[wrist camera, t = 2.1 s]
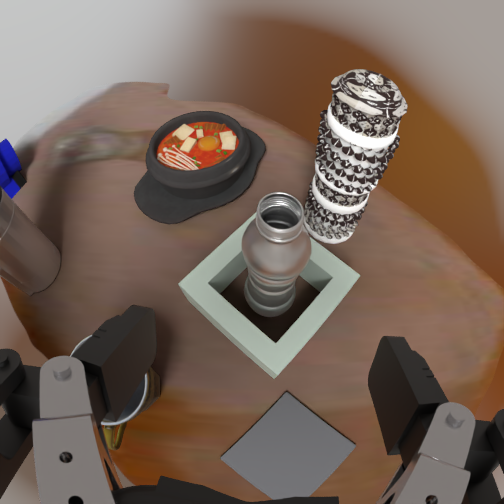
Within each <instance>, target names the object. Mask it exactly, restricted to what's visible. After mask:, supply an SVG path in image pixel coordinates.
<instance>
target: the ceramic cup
mask: <svg viewBox="0 0 504 504" xmlns="http://www.w3.org/2000/svg"><path fill="white" fill-rule="evenodd" d="M90 336H91V337H92V335H90ZM90 336H88V337H86V338H85V339H83V340H82V341H81V342H80V343H79V344H78V345H77V346H76V347H75V348H74V350H73V351H72V353H71V355H72V354H73V353H74V352H75V351H76V350H77V349H78V348H79V347H80V346H81V345H82V344H83V343H84V342H85V341H86V340H87V339H88V338H89V337H90ZM71 355H70V356H71ZM159 397H160V378H159V375H158V374H157V373H156V372H155V371H154V370H153V369H152V368H151V366H150V368H149V370H148V371H147V373H146V374H145V376H144V378H143V379H142V381H141V382H140V384H139V386H138V387H137V389H136V391H135V392H134V394H133V396H132V397H131V399H130V400H129V402H128V404H127V405H126V407H125V409H124V410H123V412H122V414H121V415H120V417H119V419H118V420H117V422H113V421H110V420H107V419H105V418H104V419H103V421H102V422H101V424H102V425H105V427H104V433H105V437H106V441H107V444H108V448H110V449H112V450H117V449H119V447H120V445H121V442H122V437H123V433H124V430H125V428H126V425H127V422H128V421H130V420H132V419H133V418H135V417H136V416H137V415H139V414H140V413H141V412H142V411H144V410H146V409H148V408H149V407H150V406H151V405H152V404H153V403H154V402H155V401H156V400H157V399H158V398H159ZM119 424H121V426H120V428H119V431H118V435H117V439H116V442H115V445H114V435H115V428H116V426H117V425H119Z"/></svg>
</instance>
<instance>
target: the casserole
mask: <svg viewBox="0 0 504 504" xmlns="http://www.w3.org/2000/svg"><path fill="white" fill-rule="evenodd" d="M264 152H265V144H264V142H263V140H262V139H261V138H260V137H259V136H258V135H257V134H255V133H254V132H252V131H251V130H249V129H246V128H244V127H241V125H240V124H239V123H238V122H237V121H236V120H235V119H233V118H232V117H230V116H228V115H225V114H223V113H218V112H212V111H198V112H191V113H187V114H184V115H181V116H178V117H176V118H173V119H172V120H170V121H168V122H166V123H165V124H164V125H163V126H161V127H160V128H159V129H158V130H157V131H156V132H155V134H154V135H153V137H152V138H151V141H150V144H149V148H148V150H147V153H146V166H147V169H148V170H147V172H146V173H145V175H144V176H143V177H142V179H141V180H140V181H139V183H138V184H137V185H136V187H135V191H134V197H135V201H136V203H137V205H138V207H139V208H140V210H141V211H142V212H143V213H144V214H145V215H147V216H148V217H150V218H151V219H153V220H155V221H158V222H160V223H166V224H174V223H180V222H182V221H184V220H186V219H188V218H190V217H192V216H194V215H196V214H198V213H200V212H203V211H207V210H210V209H213V208H216V207H219V206H223V205H225V204H227V203H229V202H231V201H233V200H234V199H235V198H237V197H238V196H240V195H241V194H242V193H243V192H244V191H245V190H246V189H247V188H248V187H249V185H250V183H251V182H252V180H253V179H254V175H255V172H256V168H257V165H258V162H259V161H260V159H261V157H262V156H263V154H264Z"/></svg>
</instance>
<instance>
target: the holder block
mask: <svg viewBox="0 0 504 504" xmlns="http://www.w3.org/2000/svg"><path fill="white" fill-rule="evenodd" d="M256 214H257V212H256V213H255V214H254V215H253V216H251V217H250V218H249V219H248V220H247V221H246V222H245V223H244V224H243V225H241V226H240V227H239V228H238V229H237V230H236V231H235V232H234V233H233V234H232V235H230V236H229V237H228V238H227V239H226V240H225V241H224V242H223V243H222V244H221V245H220V246H218V247H217V248H216V249H215V250H214V251H213V252H212V253H211V254H210V255H209V256H208V257H206V258H205V259H204V260H203V261H202V262H201V263H200V264H199V265H198V266H197V267H196V268H195V269H194V270H192V271H191V272H190V273H189V274H188V275H187V276H186V277H185V278H184V279H183V280H182V281H181V282H180V283H179V284H178V285H179V286H180V288H181V290H182V291H183V293H184V295H185V296H186V298H187V299H188V301H189V302H190V303H191V304H192V305H193V306H194V307H195V308H196V309H197V310H198V311H199V312H201V313H202V314H203V315H204V316H205V317H206V318H207V319H208V320H209V321H210V322H211V323H212V324H213V325H214V326H215V327H216V328H217V329H218V330H220V331H221V332H222V333H223V334H224V335H225V336H226V337H227V338H228V339H229V340H230V341H231V342H233V343H234V344H235V345H236V346H237V347H238V348H239V349H240V350H241V351H242V352H244V353H245V354H246V355H247V356H248V357H249V358H250V359H251V360H253V361H254V362H255V363H256V364H257V365H258V366H259V367H261V368H262V369H263V370H264V371H265V372H266V373H268V374H269V375H270V376H271V377H272V378H273V379H275V378H276V377H277V376H278V375H279V373H280V372H281V371H282V370H283V369H284V368H285V367H286V366H287V365H288V363H289V362H290V361H291V360H292V359H293V358H294V357H295V356H296V354H297V353H298V352H299V351H300V350H301V349H302V348H303V346H304V345H305V344H306V343H307V342H308V341H309V339H310V338H311V337H312V336H313V335H314V333H315V332H316V331H317V330H318V329H319V327H320V326H321V325H322V324H323V323H324V321H325V320H326V319H327V318H328V317H329V315H330V314H331V313H332V312H333V310H334V309H335V308H336V307H337V305H338V304H339V303H340V301H341V300H342V299H343V298H344V296H345V295H346V294H347V293H348V291H349V290H350V289H351V287H352V286H353V285H354V283H355V282H356V281H357V279H358V278H359V277H360V275H359V274H358V273H356V272H355V271H354V270H353V269H351V268H350V267H349V266H347V265H346V264H345V263H344V262H342V261H341V260H340V259H338V258H337V257H336V256H335V255H333V254H332V253H331V252H329V251H328V250H327V249H325V248H324V247H323V246H321V245H320V244H319V243H317V242H316V241H315V240H314V239H312V238H311V237H310V241H311V246H312V251H311V256H310V260H309V261H308V263H307V265H306V267H305V269H304V270H303V271H302V272H301V273H300V275H299V276H301V277H302V278H303V279H304V280H306V281H307V282H308V283H309V284H311V285H312V286H313V287H314V288H316V289H317V290H318V291H319V292H321V293H320V294H319V295H318V296H317V297H316V298H315V300H314V301H313V302H312V303H311V304H310V306H309V307H308V308H307V309H306V310H305V311H304V312H303V314H302V315H301V316H300V317H299V318H298V319H297V320H296V322H295V323H294V324H293V325H292V326H291V327H290V328H289V329H288V331H287V332H286V333H285V334H284V335H283V336H282V337H281V338H280V339H279V341H278V342H277V343H274V342H273V341H272V340H271V339H270V338H269V337H267V336H266V335H265V334H264V333H263V332H262V331H260V330H259V329H258V328H257V327H256V326H255V325H254V324H252V323H251V322H250V321H249V320H248V319H247V318H246V317H244V316H243V315H242V314H241V313H240V312H239V311H238V310H237V309H235V308H234V307H233V306H232V305H231V304H230V303H229V302H228V301H227V300H225V299H224V298H223V297H222V296H221V295H220V293H221V292H222V291H223V290H224V289H225V288H226V287H227V286H228V285H229V284H230V283H231V282H232V281H233V280H234V279H235V278H236V277H237V276H238V275H239V274H241V273H242V272H243V271H244V270H245V269H246V268H247V265H246V262H245V260H244V256H243V252H242V244H241V243H242V237H243V234H244V232H245V230H246V228H247V227H248V225H249V224H250V222H251V221H252V220H253V219H255V218H256Z"/></svg>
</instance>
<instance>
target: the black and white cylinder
mask: <svg viewBox="0 0 504 504" xmlns="http://www.w3.org/2000/svg"><path fill="white" fill-rule="evenodd" d="M331 86H332V89H333V92H334V93H333V96H332V102H331V104H330V105H329V107H328V110H324V111H322V112H321V114H320V116H321V118H323V119H321V121H320V125H321V126H320V127H319V132H320V133H321V134H320V135H318V138H317V139H318V141H319V143H318V144H317V149H316V154H317V156H316V159H315V171H316V174H315V175H314V178H313V181H312V182H311V183H310V189H309V191H308V194H309V196H308V197H307V198H306V204H305V210H304V219H303V223H304V225H305V227H306V230H307V231H308V232H309V233H310V234H311V235H312V236H313V237H314V238H315V239H317V240H319V241H321V242H324V243H329V244H338V243H341V242H344V241H346V240H347V239H348V238H349V237H350V236H352V234H353V232H354V231H355V226H357V225H358V222H357V221H356V220H360V219H361V217H362V216H361V214H362V213H364V211H365V209H364V207H366V206H367V204H368V203H367V199H368V196H369V193H370V191H371V190H373V189H374V188H375V187H376V185H377V182H378V179H381V178H382V177H383V175H382V174H383V173H384V171H385V170H386V169H387V163H388V162H389V159H392V158H393V156H394V155H393V153H394V152H395V149H396V148H398V146H399V144H398V142H399V141H400V138H399V136H398V135H397V130H398V125H399V123H400V120H401V118H402V115H403V114H404V113H406V111H407V103H406V101H405V99H404V97H403V96H402V95H401V93H400V91H399V89H398V87H397V86H396V85H395V84H394V83H393V82H392V81H391V80H390V79H388V78H386V77H385V76H383V75H381V74H378V73H376V72H373V71H368V70H352V71H349V72H347V73H345V74H343V75H341V76H338V77H335V78H334V80H333V81H332V83H331ZM326 116H327V118H326ZM388 147H389V149H388V150H387V148H388ZM386 152H387V153H388V154H387V153H386Z"/></svg>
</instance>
